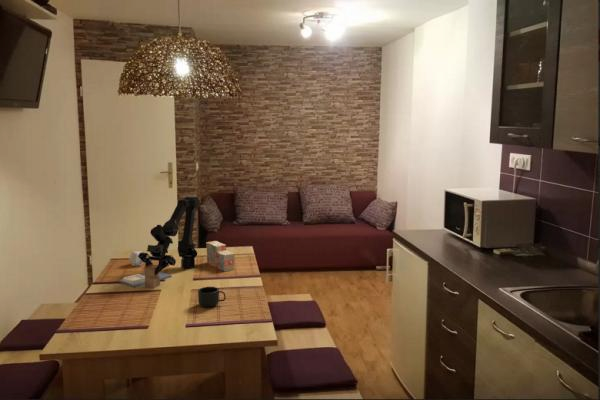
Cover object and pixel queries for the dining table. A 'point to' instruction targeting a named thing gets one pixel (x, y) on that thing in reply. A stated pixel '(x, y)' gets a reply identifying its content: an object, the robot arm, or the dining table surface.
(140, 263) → the die
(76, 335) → the dining table surface
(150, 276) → the pillar
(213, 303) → the mug
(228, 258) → the stack of blocks
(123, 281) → the board
